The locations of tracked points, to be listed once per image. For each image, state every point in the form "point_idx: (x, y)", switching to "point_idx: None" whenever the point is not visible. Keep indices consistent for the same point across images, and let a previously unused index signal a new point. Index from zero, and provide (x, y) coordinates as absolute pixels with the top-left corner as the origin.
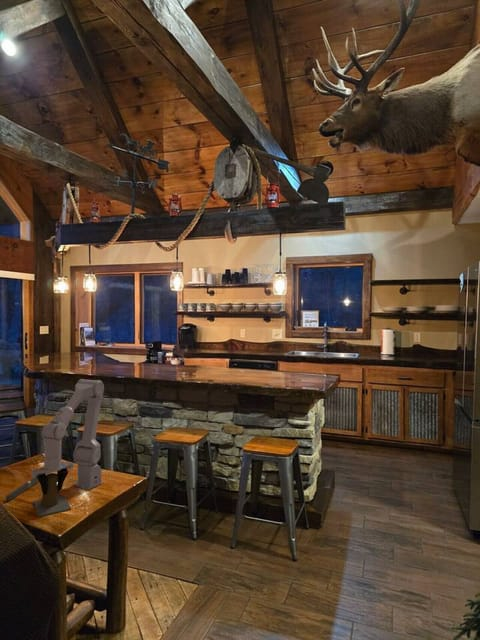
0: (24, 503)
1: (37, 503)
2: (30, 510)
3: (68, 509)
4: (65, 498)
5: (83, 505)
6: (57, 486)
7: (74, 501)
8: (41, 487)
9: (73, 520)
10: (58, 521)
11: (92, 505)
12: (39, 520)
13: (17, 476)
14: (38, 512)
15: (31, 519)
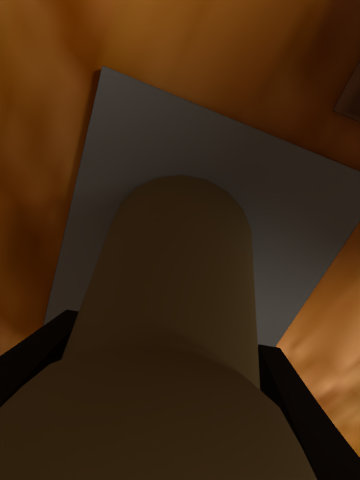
0: (33, 12)
1: (110, 155)
2: (36, 206)
3: None
4: (325, 261)
5: (323, 408)
6: (266, 361)
7: (338, 328)
8: (7, 360)
9: None
10: None
11: (353, 442)
12: None
13: None
14: (58, 303)
15: (7, 323)
